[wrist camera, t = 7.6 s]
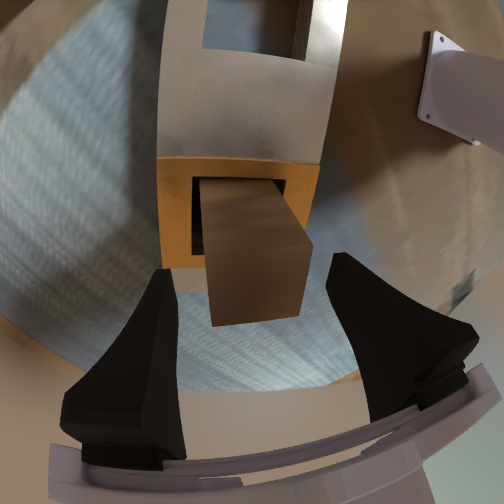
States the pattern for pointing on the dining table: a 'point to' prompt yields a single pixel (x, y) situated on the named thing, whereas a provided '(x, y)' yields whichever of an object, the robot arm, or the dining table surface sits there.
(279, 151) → the grey rail
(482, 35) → the dining table surface
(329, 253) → the dining table surface
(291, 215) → the walnut peg
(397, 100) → the dining table surface
